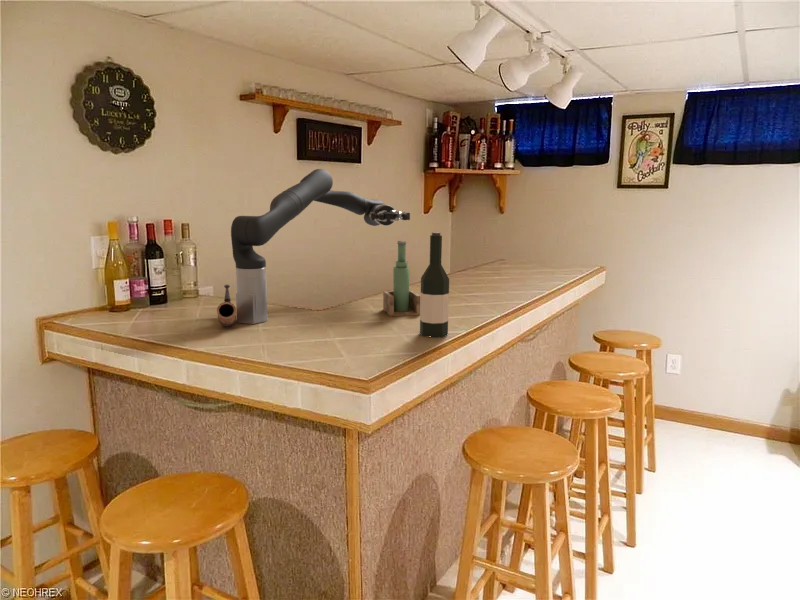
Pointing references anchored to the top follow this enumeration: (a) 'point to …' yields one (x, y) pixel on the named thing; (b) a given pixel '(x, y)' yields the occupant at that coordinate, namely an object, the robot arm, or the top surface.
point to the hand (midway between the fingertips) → (394, 217)
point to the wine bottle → (434, 293)
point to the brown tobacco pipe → (226, 310)
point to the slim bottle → (401, 280)
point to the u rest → (413, 304)
